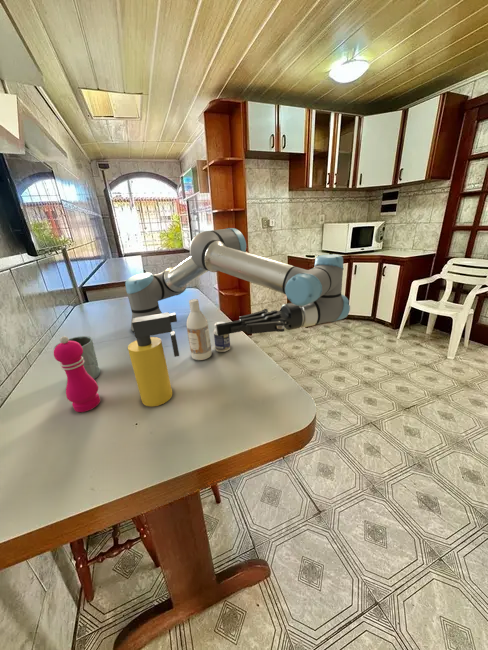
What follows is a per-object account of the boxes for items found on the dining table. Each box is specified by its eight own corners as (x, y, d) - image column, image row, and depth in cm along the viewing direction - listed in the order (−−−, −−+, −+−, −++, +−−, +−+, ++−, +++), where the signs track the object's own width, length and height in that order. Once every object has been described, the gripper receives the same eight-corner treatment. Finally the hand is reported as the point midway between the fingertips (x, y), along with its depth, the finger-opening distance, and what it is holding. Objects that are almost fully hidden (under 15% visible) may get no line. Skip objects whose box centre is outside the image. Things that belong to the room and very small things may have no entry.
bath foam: (187, 358, 91) (177, 302, 83) (200, 349, 96) (192, 296, 89) (203, 362, 87) (195, 304, 80) (215, 353, 93) (208, 298, 85)
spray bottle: (142, 391, 75) (122, 316, 66) (187, 381, 78) (174, 308, 69) (141, 409, 67) (119, 328, 59) (191, 397, 71) (176, 318, 62)
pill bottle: (227, 353, 92) (224, 327, 89) (213, 351, 94) (209, 326, 90) (232, 346, 97) (230, 321, 93) (219, 344, 99) (216, 320, 95)
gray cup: (104, 365, 90) (94, 333, 86) (100, 381, 81) (89, 346, 77) (70, 373, 87) (58, 340, 83) (63, 390, 78) (48, 354, 74)
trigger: (173, 351, 71) (169, 331, 68) (178, 351, 71) (174, 330, 69) (174, 356, 68) (170, 335, 66) (179, 356, 68) (175, 334, 66)
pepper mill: (68, 416, 67) (39, 345, 59) (76, 399, 73) (51, 333, 66) (99, 409, 69) (75, 339, 61) (104, 393, 75) (83, 328, 68)
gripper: (287, 296, 81) (211, 309, 75) (309, 309, 69) (221, 325, 63) (287, 319, 84) (214, 334, 78) (309, 335, 72) (224, 353, 66)
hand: (217, 330), depth 71 cm, fingers closed
